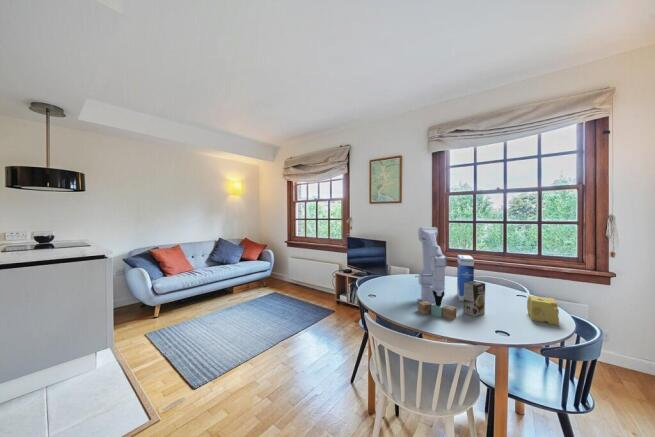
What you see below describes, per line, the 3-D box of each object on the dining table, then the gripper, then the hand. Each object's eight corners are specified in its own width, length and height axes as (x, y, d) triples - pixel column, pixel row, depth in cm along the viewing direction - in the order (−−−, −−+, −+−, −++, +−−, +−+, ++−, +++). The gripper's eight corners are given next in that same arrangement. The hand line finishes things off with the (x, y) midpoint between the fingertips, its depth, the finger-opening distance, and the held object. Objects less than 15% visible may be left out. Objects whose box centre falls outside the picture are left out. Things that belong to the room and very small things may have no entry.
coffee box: (474, 317, 125) (475, 285, 124) (462, 312, 130) (463, 282, 130) (485, 313, 129) (486, 283, 128) (473, 309, 135) (473, 280, 134)
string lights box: (473, 303, 144) (474, 259, 143) (458, 301, 146) (459, 258, 145) (469, 295, 156) (470, 255, 155) (456, 294, 159) (457, 254, 158)
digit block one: (426, 310, 134) (426, 300, 133) (432, 313, 129) (432, 304, 129) (417, 310, 132) (418, 301, 132) (423, 314, 128) (423, 304, 127)
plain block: (435, 312, 131) (435, 302, 131) (445, 314, 127) (445, 305, 127) (431, 314, 128) (431, 305, 128) (440, 317, 124) (441, 308, 124)
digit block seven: (445, 314, 128) (446, 304, 128) (456, 317, 125) (456, 307, 125) (442, 317, 125) (442, 307, 124) (453, 320, 121) (453, 310, 121)
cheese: (559, 325, 116) (559, 304, 115) (529, 320, 121) (530, 300, 121) (553, 317, 124) (554, 298, 124) (526, 312, 130) (527, 294, 130)
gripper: (430, 275, 135) (429, 299, 136) (430, 282, 122) (430, 309, 122) (444, 276, 133) (443, 301, 133) (446, 283, 119) (445, 311, 120)
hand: (438, 305), depth 127 cm, fingers closed
